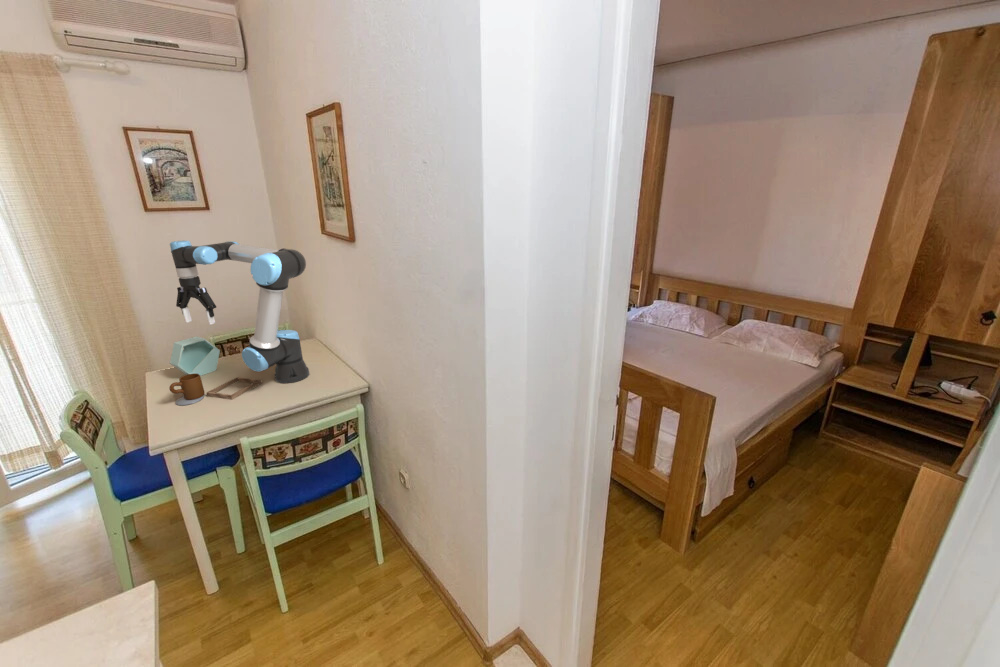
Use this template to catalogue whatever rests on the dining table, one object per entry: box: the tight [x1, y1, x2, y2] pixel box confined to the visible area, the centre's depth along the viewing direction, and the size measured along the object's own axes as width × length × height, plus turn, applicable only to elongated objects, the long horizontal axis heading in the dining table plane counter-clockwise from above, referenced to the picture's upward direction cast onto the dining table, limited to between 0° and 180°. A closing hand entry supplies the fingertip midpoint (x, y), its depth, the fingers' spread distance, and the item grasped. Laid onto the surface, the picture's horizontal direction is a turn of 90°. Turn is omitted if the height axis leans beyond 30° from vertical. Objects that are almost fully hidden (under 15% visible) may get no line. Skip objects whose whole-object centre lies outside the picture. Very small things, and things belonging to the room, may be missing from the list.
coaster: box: [175, 395, 205, 407], centre depth 188 cm, size 10×10×1 cm
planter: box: [169, 335, 221, 377], centre depth 213 cm, size 17×8×21 cm
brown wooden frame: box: [205, 376, 262, 400], centre depth 197 cm, size 14×17×2 cm
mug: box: [168, 374, 206, 400], centre depth 186 cm, size 12×8×9 cm, turn 151°
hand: (200, 322), depth 198 cm, fingers open, 13 cm apart
